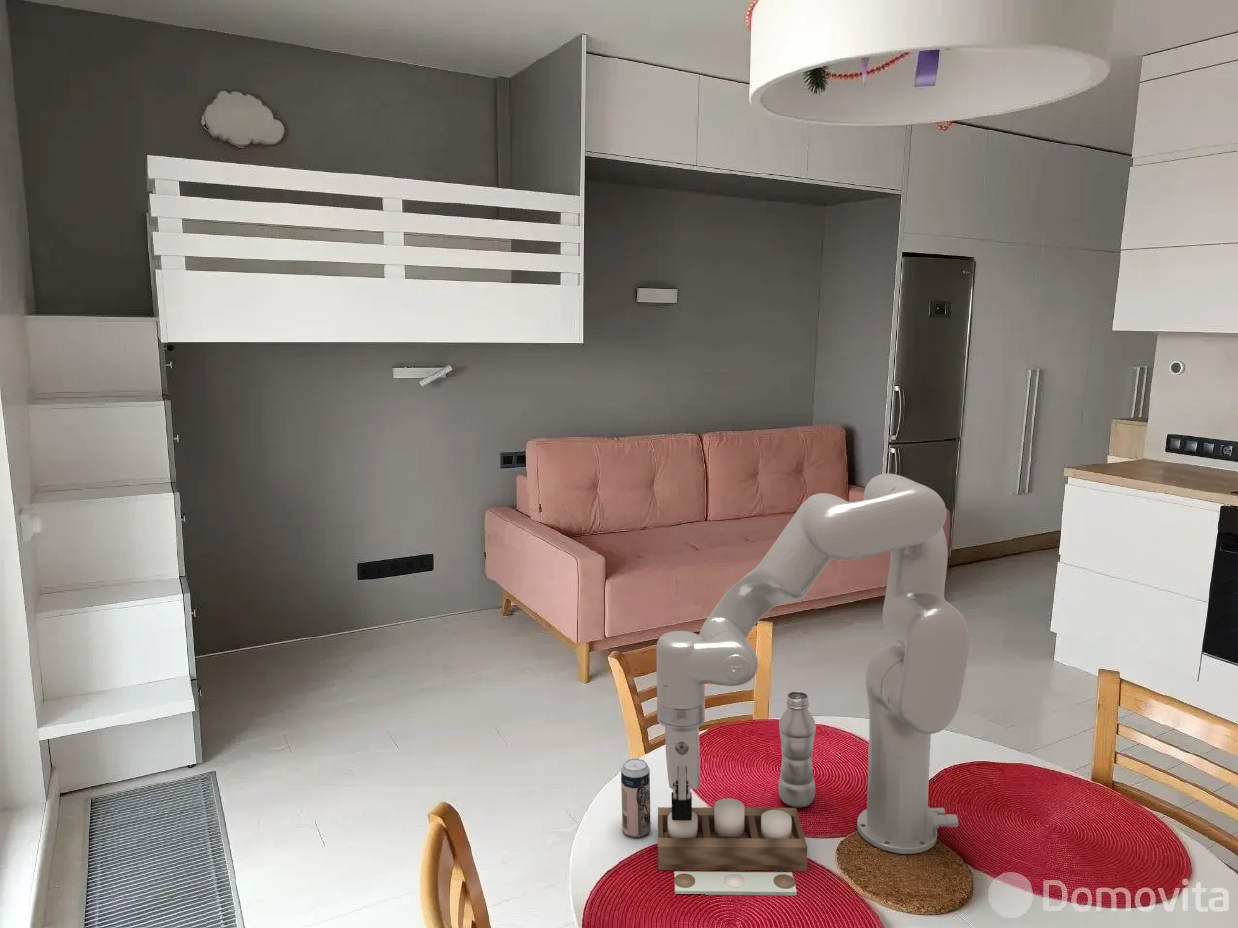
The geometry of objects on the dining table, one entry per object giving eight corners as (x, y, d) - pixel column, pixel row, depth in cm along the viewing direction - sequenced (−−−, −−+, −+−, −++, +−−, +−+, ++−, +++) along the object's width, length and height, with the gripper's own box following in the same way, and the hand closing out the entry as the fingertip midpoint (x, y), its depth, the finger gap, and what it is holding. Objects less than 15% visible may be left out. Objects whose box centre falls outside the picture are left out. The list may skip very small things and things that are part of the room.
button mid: (742, 823, 140) (742, 798, 139) (745, 840, 135) (745, 814, 134) (713, 822, 140) (713, 798, 139) (715, 840, 135) (715, 814, 135)
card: (792, 875, 131) (792, 871, 131) (797, 895, 127) (797, 890, 126) (673, 874, 132) (673, 870, 132) (674, 894, 127) (674, 889, 127)
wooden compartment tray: (795, 829, 143) (795, 807, 142) (806, 871, 132) (807, 847, 131) (658, 829, 144) (657, 807, 143) (658, 869, 133) (657, 846, 133)
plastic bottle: (818, 796, 153) (820, 690, 150) (810, 816, 147) (812, 706, 144) (783, 789, 156) (784, 685, 153) (773, 808, 150) (774, 700, 146)
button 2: (788, 834, 140) (789, 809, 139) (793, 852, 135) (793, 826, 134) (759, 834, 140) (759, 809, 139) (763, 852, 135) (763, 826, 135)
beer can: (648, 840, 141) (646, 772, 139) (619, 837, 142) (618, 770, 140) (652, 824, 146) (651, 758, 144) (625, 821, 147) (623, 756, 145)
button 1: (697, 833, 141) (696, 809, 140) (698, 851, 136) (698, 826, 135) (667, 833, 141) (667, 809, 140) (668, 851, 136) (667, 825, 135)
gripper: (707, 732, 127) (707, 845, 130) (702, 690, 142) (702, 793, 145) (657, 732, 128) (658, 845, 130) (657, 690, 142) (658, 792, 145)
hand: (681, 817), depth 138 cm, fingers closed
